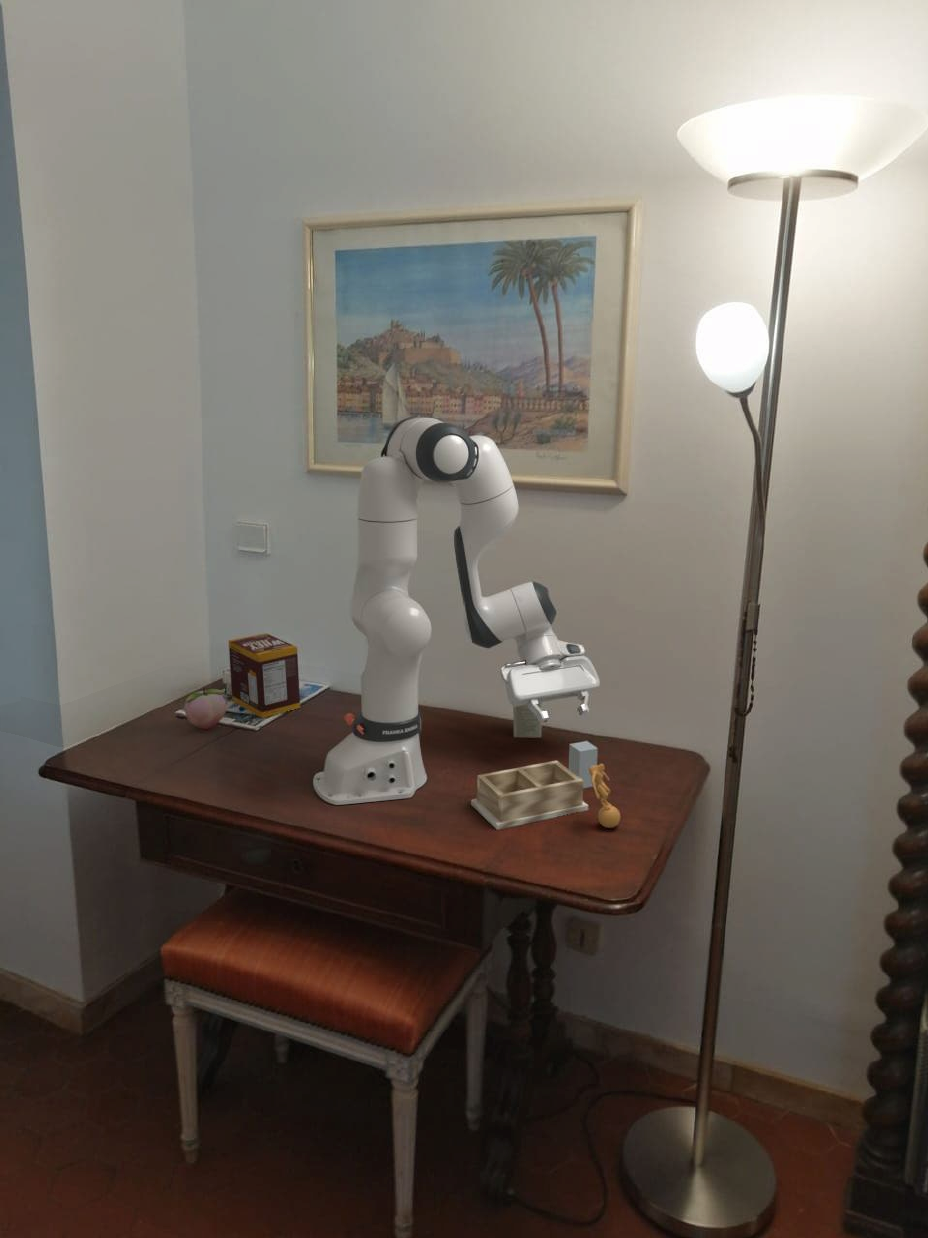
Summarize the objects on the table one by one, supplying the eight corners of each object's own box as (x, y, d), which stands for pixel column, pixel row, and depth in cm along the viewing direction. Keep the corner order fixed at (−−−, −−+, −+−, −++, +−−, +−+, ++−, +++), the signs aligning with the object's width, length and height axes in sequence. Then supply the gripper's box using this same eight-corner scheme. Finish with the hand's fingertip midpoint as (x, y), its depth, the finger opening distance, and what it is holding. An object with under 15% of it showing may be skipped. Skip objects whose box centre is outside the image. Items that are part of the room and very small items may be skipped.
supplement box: (268, 691, 244) (265, 632, 240) (301, 708, 232) (298, 646, 228) (231, 701, 237) (227, 639, 233) (262, 719, 226) (258, 654, 222)
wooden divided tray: (496, 830, 174) (497, 799, 173) (471, 804, 184) (471, 775, 182) (588, 810, 182) (589, 780, 180) (558, 786, 192) (559, 758, 190)
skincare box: (541, 731, 219) (543, 679, 216) (541, 738, 215) (542, 686, 212) (513, 730, 220) (514, 678, 217) (512, 737, 216) (513, 685, 213)
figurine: (614, 839, 171) (617, 776, 168) (581, 833, 173) (583, 771, 170) (624, 818, 179) (627, 758, 176) (592, 813, 181) (594, 753, 178)
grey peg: (578, 789, 191) (579, 751, 188) (568, 781, 194) (569, 744, 192) (596, 785, 192) (597, 748, 190) (585, 778, 196) (586, 741, 194)
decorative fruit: (214, 718, 226) (211, 678, 223) (233, 728, 220) (231, 686, 218) (177, 729, 219) (174, 687, 217) (197, 739, 214) (193, 696, 211)
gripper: (502, 657, 196) (524, 719, 190) (589, 644, 204) (613, 703, 199) (492, 671, 201) (514, 732, 195) (578, 658, 210) (601, 716, 204)
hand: (564, 717), depth 197 cm, fingers open, 8 cm apart
